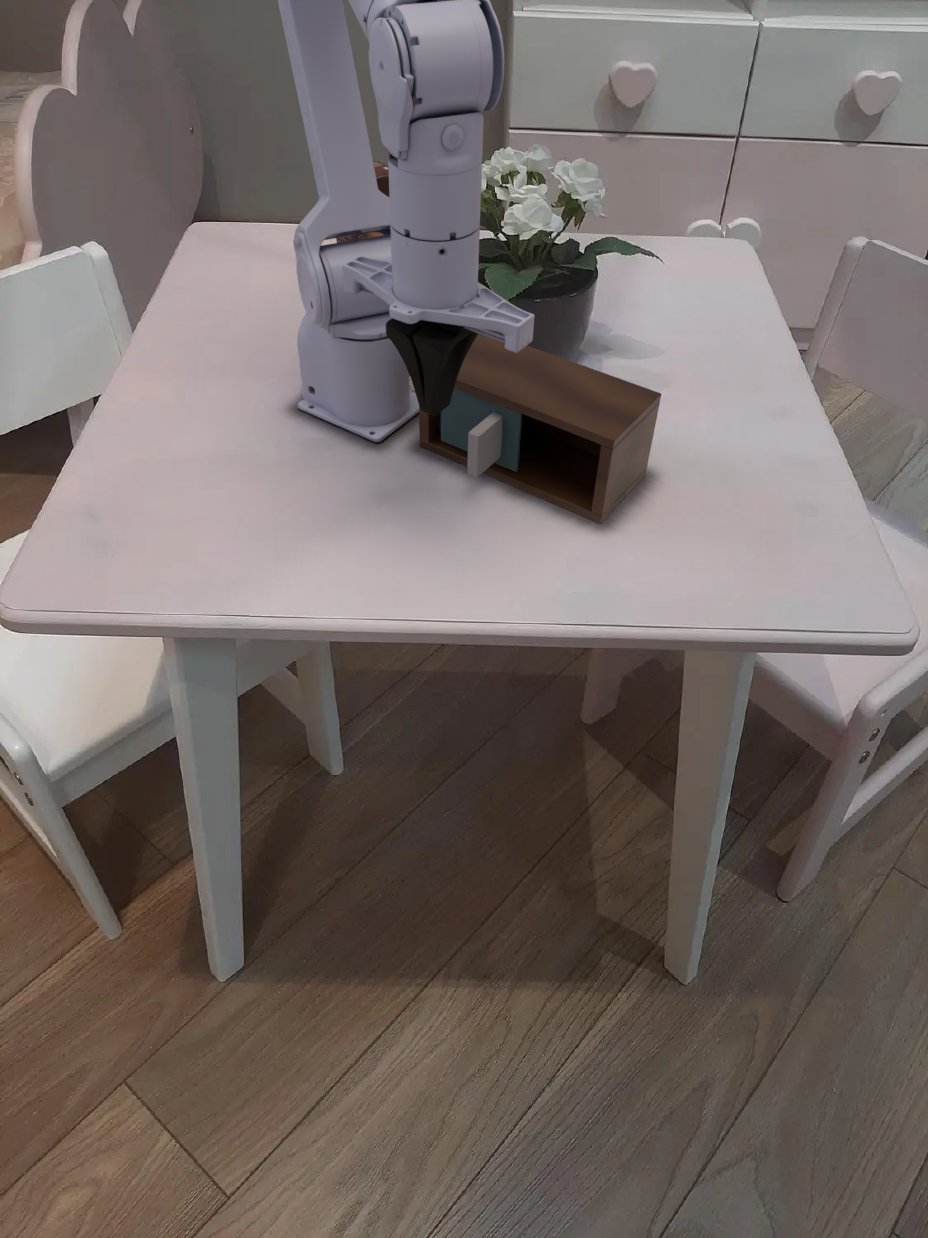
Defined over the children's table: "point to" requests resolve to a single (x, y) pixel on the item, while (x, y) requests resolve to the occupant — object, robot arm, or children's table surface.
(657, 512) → the children's table surface
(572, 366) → the cabinet
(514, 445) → the glass door
